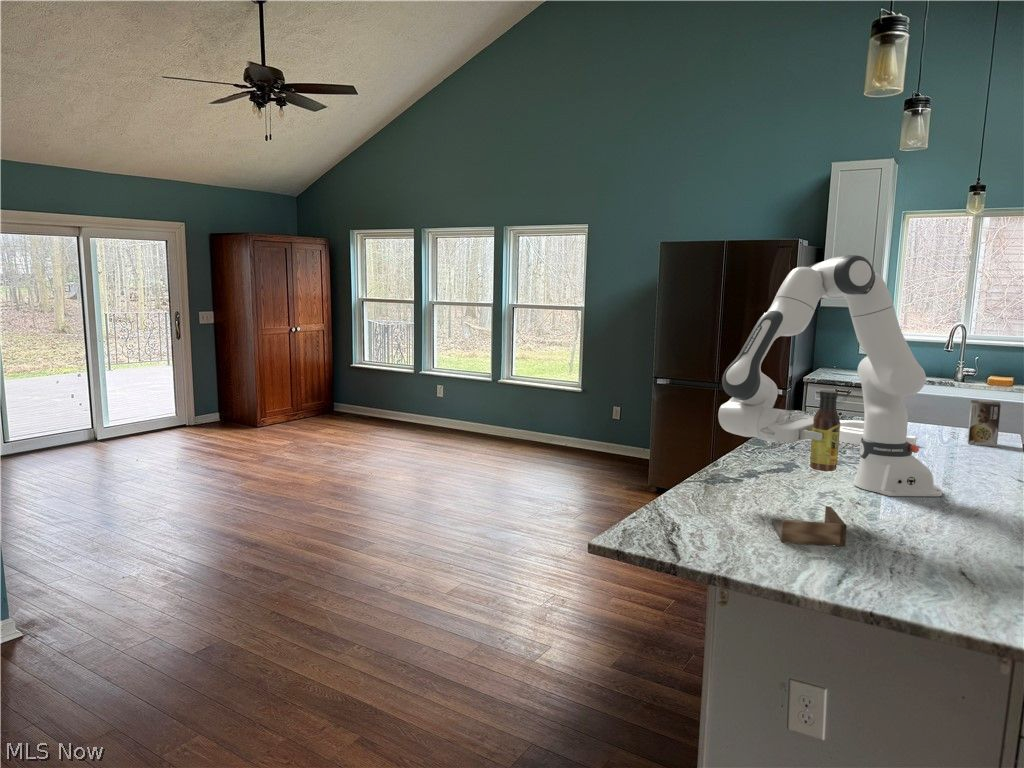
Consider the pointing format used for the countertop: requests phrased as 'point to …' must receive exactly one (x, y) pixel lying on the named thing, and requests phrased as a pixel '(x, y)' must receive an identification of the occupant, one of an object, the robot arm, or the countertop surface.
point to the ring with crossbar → (858, 432)
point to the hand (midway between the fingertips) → (829, 434)
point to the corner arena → (813, 530)
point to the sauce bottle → (826, 433)
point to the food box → (984, 423)
